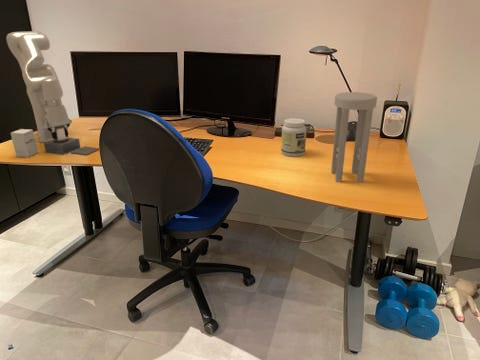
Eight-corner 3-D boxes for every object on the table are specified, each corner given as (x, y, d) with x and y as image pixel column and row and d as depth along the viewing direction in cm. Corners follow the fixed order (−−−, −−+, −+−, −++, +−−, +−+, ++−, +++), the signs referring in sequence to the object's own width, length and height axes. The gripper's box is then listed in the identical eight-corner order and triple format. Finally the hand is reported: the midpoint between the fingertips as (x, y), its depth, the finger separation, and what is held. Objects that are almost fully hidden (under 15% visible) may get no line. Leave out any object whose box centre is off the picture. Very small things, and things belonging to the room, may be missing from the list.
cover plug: (55, 148, 198) (51, 126, 193) (65, 146, 202) (61, 124, 197) (60, 150, 195) (55, 128, 190) (70, 148, 199) (65, 126, 194)
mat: (71, 153, 194) (70, 152, 193) (84, 147, 202) (84, 146, 202) (86, 155, 190) (86, 154, 190) (99, 149, 199) (99, 148, 199)
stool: (360, 170, 169) (370, 91, 155) (369, 184, 155) (381, 99, 141) (325, 169, 170) (332, 91, 155) (332, 183, 155) (340, 99, 141)
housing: (45, 152, 196) (43, 143, 194) (63, 145, 206) (61, 136, 204) (63, 154, 192) (61, 145, 190) (80, 147, 202) (78, 138, 200)
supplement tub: (297, 159, 183) (299, 125, 176) (276, 154, 189) (277, 121, 183) (309, 152, 192) (311, 119, 185) (288, 147, 198) (290, 116, 192)
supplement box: (28, 157, 188) (22, 133, 183) (16, 156, 190) (9, 132, 185) (38, 152, 195) (33, 129, 190) (26, 151, 196) (20, 128, 191)
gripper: (39, 107, 181) (47, 143, 188) (73, 101, 192) (79, 135, 200) (32, 105, 185) (41, 140, 193) (66, 99, 197) (73, 132, 204)
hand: (60, 137), depth 196 cm, fingers closed on cover plug, 5 cm apart
